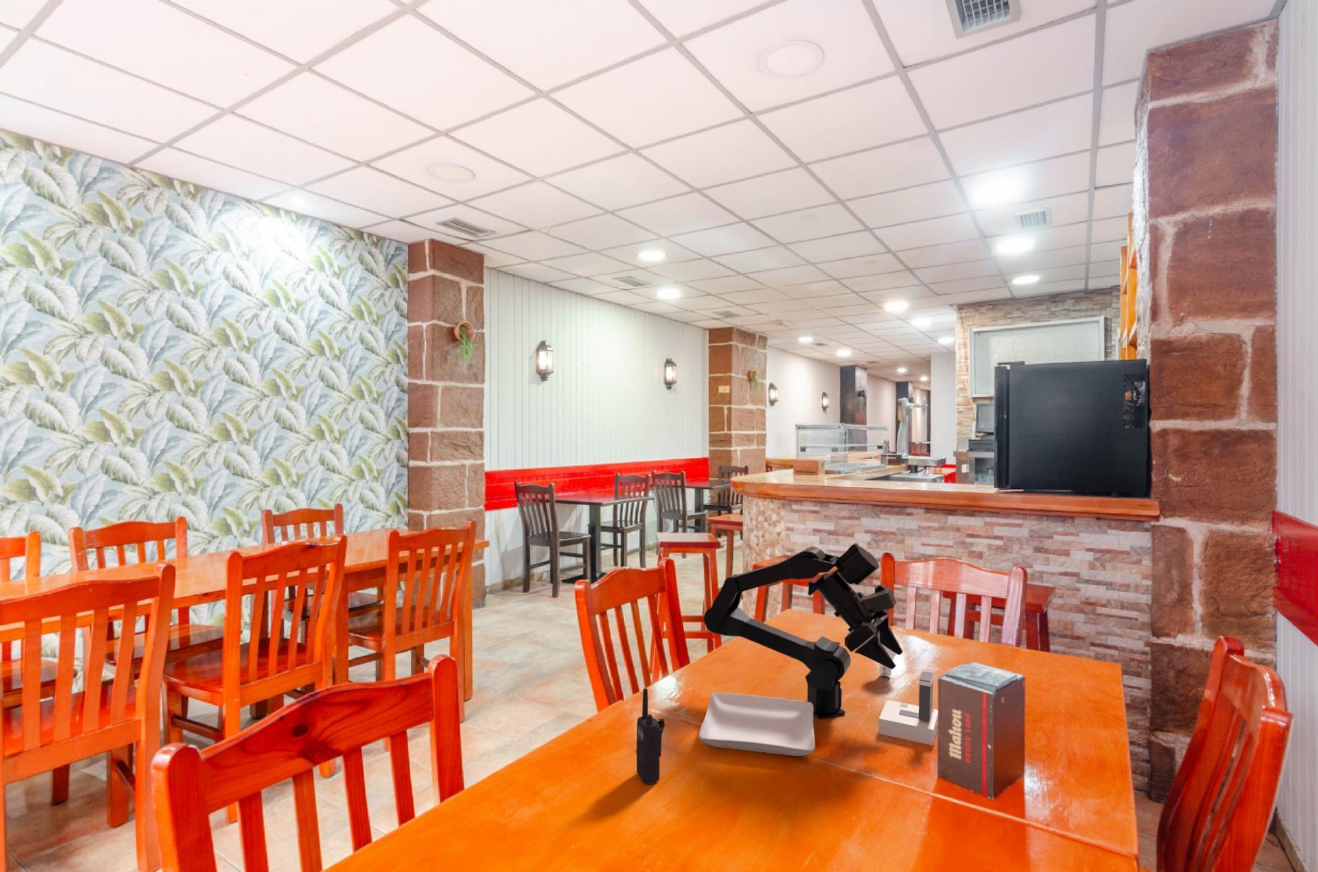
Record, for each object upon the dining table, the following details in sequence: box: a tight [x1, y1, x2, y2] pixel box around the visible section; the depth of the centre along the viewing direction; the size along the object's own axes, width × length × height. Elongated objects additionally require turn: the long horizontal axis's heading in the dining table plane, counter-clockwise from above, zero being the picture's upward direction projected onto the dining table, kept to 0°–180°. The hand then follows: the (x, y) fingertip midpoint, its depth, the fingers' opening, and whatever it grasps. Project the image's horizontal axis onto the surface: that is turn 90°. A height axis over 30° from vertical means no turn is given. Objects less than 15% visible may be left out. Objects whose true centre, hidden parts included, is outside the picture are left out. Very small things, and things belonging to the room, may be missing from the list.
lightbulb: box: [878, 633, 901, 678], centre depth 161 cm, size 6×6×11 cm
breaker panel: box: [877, 699, 939, 746], centre depth 133 cm, size 10×10×3 cm
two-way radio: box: [635, 687, 666, 785], centre depth 114 cm, size 6×4×15 cm
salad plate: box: [697, 691, 816, 757], centre depth 131 cm, size 21×21×3 cm
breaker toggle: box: [918, 670, 934, 721], centre depth 132 cm, size 2×5×8 cm, turn 152°
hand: (897, 660), depth 134 cm, fingers open, 9 cm apart
